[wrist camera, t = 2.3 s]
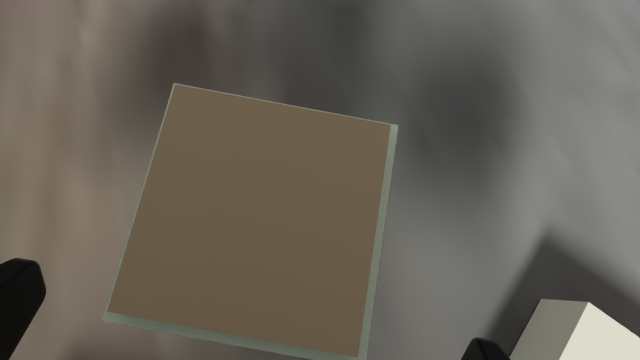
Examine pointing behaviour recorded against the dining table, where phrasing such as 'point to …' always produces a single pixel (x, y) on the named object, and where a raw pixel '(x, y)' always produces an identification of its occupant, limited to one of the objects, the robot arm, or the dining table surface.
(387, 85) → the dining table surface
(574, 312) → the slab
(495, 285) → the dining table surface
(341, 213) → the tea tin
